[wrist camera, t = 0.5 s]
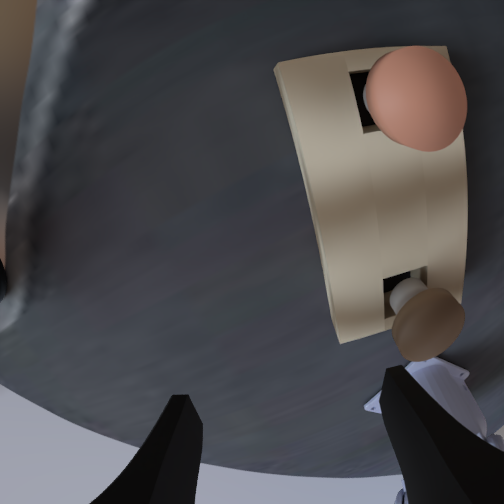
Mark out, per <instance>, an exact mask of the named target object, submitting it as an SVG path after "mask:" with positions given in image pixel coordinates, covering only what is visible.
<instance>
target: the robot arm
mask: <svg viewBox="0 0 504 504" xmlns="http://www.w3.org/2000/svg"><path fill="white" fill-rule="evenodd" d="M468 376H469V371H468V370H466V369H463V368H461V367H459V366H456V365H454V364H452V363H450V362H447V361H445V360H443V359H440V358H438V357H434V358H431V359H429V360H426V361H421V362H412V361H411V362H410V363H409V364H408V365H407V366H406V367H405V368H404V367H403V366H402V365H399V366H395V367H391V368H387V369H386V372H385V377H384V381H383V386H382V390H381V391H380V392H379V393H378V394H376V395H375V396H374V397H373V398H372V399H371V400H370V401H368V402H367V403H366V404H365V405H364V408H365V410H367V411H372V412H376V413H381V414H382V416H383V420H384V424H385V427H386V430H387V432H388V435H389V438H390V441H391V443H392V446H393V449H394V451H395V454H396V457H397V460H398V462H399V465H400V468H401V471H402V475H403V478H404V479H403V480H401V482H402V486H403V489H401V490H400V491H399V492H398V494H397V497H396V501H395V503H394V504H504V440H503V438H502V437H501V436H500V435H494V434H491V435H490V436H488V437H486V432H487V424H486V420H485V417H484V415H483V414H482V412H481V410H480V408H479V406H478V404H477V403H476V401H475V399H474V397H473V396H472V394H471V392H470V390H469V389H468V387H467V385H466V383H465V382H464V380H465V379H466V378H467V377H468ZM202 441H203V423H202V421H201V419H200V417H199V415H198V413H197V411H196V409H195V407H194V405H193V403H192V401H191V399H190V397H189V395H172V396H171V398H170V399H169V401H168V403H167V405H166V407H165V408H164V410H163V412H162V414H161V415H160V417H159V419H158V421H157V422H156V424H155V426H154V427H153V429H152V430H151V432H150V434H149V435H148V437H147V438H146V440H145V442H144V443H143V445H142V446H141V447H140V449H139V450H138V452H137V453H136V454H135V456H134V457H133V459H132V460H131V461H130V463H129V464H128V465H127V466H126V468H125V469H124V470H123V471H122V472H121V474H120V475H119V476H118V477H117V478H116V479H115V480H114V481H113V482H112V483H111V484H110V485H109V486H108V487H107V489H105V490H104V491H103V493H101V494H100V495H99V496H98V497H97V498H96V499H94V500H93V501H92V502H91V503H90V504H195V494H196V486H197V480H198V473H199V467H200V460H201V453H202Z"/></svg>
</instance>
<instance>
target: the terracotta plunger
mask: <svg viewBox="0 0 504 504" xmlns="http://www.w3.org/2000/svg"><path fill="white" fill-rule="evenodd" d="M363 99H364V103H365V106H366V108H367V110H368V111H369V113H370V114H371V116H372V118H373V120H374V122H375V124H376V125H377V126H378V128H379V129H380V130H381V131H382V132H383V133H384V134H385V135H386V136H387V137H388V138H390V139H391V140H393V141H394V142H396V143H398V144H401V145H404V146H407V147H410V148H413V149H416V150H420V151H424V152H433V151H438V150H442V149H444V148H446V147H447V146H449V145H450V144H452V143H453V142H454V141H455V140H456V138H457V137H458V136H459V134H460V133H461V131H462V129H463V127H464V123H465V120H466V115H467V98H466V93H465V89H464V86H463V83H462V80H461V78H460V76H459V74H458V73H457V71H456V70H455V68H454V67H453V66H452V64H451V63H450V62H449V61H448V60H447V59H446V58H445V57H443V56H442V55H441V54H439V53H438V52H436V51H434V50H432V49H429V48H427V47H422V46H408V47H405V48H401V49H398V50H395V51H391V52H388V53H386V54H384V55H383V56H381V57H380V58H379V59H378V60H377V61H376V62H375V63H374V65H373V66H372V68H371V70H370V72H369V74H368V77H367V82H366V84H365V87H364V91H363Z"/></svg>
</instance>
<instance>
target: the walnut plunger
mask: <svg viewBox="0 0 504 504" xmlns="http://www.w3.org/2000/svg"><path fill="white" fill-rule="evenodd" d="M390 305H391V307H392V309H393V310H394V312H395V314H396V317H395V319H394V322H393V326H392V336H393V339H394V341H395V343H396V345H397V346H398V348H399V350H400V352H401V354H402V356H403V357H404V358H405V359H407V360H409V361H412V362H421V361H426V360H429V359H431V358H434V357H436V356H437V355H439V354H441V353H442V352H443V351H445V350H446V349H447V348H448V347H449V346H450V345H451V344H452V343H453V342H454V341H455V340H456V338H457V337H458V335H459V334H460V332H461V330H462V328H463V325H464V321H465V312H464V309H463V307H462V306H461V305H460V303H459V302H458V301H457V300H456V299H455V298H454V296H453V295H452V294H451V293H450V292H449V291H448V290H446V289H443V288H430V289H428V288H427V287H426V286H425V284H424V283H423V282H422V281H421V280H420V279H418V278H407V279H405V280H403V281H401V282H400V283H399V284H397V285H396V287H395V288H394V289H393V291H392V293H391V295H390Z"/></svg>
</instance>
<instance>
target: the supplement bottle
mask: <svg viewBox="0 0 504 504" xmlns="http://www.w3.org/2000/svg"><path fill="white" fill-rule="evenodd" d="M6 288H7V280H6V274H5V270H4V267H3V264H2V261H1V259H0V302H1V301H2V300H3V298H4V296H5V293H6Z"/></svg>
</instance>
